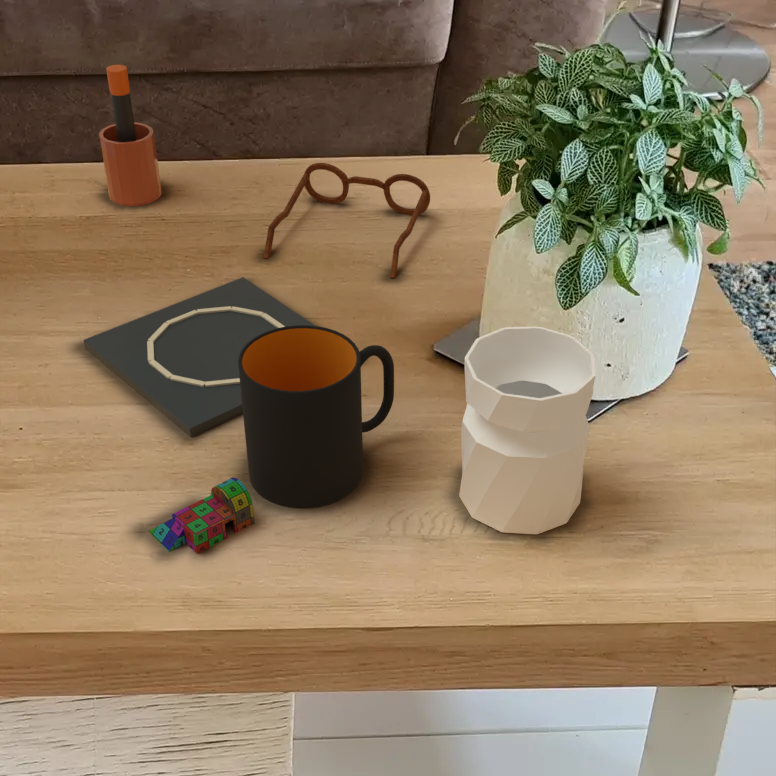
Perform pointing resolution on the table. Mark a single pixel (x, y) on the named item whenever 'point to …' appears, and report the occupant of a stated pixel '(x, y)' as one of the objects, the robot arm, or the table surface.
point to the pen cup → (131, 166)
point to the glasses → (305, 181)
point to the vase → (525, 428)
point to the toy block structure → (208, 518)
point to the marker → (121, 102)
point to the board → (193, 352)
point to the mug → (307, 413)
